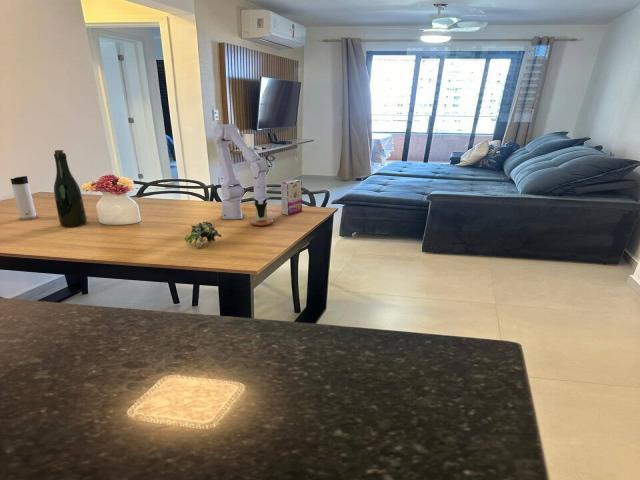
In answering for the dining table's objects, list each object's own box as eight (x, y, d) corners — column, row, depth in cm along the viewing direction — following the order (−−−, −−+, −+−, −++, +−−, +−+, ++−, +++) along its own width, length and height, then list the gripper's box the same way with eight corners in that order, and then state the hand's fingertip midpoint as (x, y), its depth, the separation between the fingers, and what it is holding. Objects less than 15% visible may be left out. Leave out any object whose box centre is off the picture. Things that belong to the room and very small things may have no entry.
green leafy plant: (210, 254, 155) (226, 231, 153) (200, 259, 144) (217, 234, 142) (187, 238, 154) (203, 214, 152) (175, 242, 144) (193, 216, 142)
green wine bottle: (57, 224, 172) (41, 149, 162) (83, 219, 180) (69, 148, 169) (63, 229, 165) (47, 151, 155) (90, 224, 173) (76, 150, 162)
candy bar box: (295, 209, 204) (295, 179, 199) (302, 211, 201) (302, 180, 196) (281, 213, 196) (280, 182, 190) (288, 215, 193) (287, 183, 187)
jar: (255, 220, 174) (255, 207, 173) (255, 217, 179) (255, 204, 177) (266, 219, 175) (266, 207, 173) (266, 216, 180) (266, 204, 178)
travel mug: (31, 220, 178) (20, 177, 171) (17, 219, 178) (6, 177, 171) (40, 216, 184) (30, 175, 177) (27, 216, 184) (16, 174, 177)
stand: (249, 227, 172) (249, 223, 172) (249, 220, 182) (249, 217, 182) (273, 226, 174) (273, 223, 173) (272, 220, 184) (272, 216, 184)
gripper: (269, 189, 166) (270, 219, 171) (268, 183, 180) (269, 211, 184) (253, 190, 165) (254, 220, 170) (253, 183, 179) (254, 211, 183)
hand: (261, 215), depth 177 cm, fingers closed on jar, 5 cm apart
